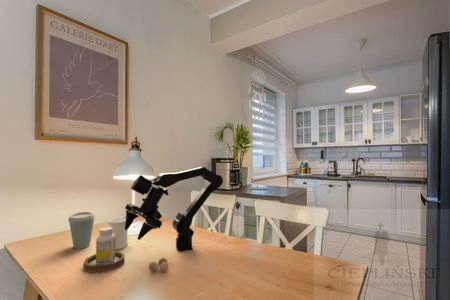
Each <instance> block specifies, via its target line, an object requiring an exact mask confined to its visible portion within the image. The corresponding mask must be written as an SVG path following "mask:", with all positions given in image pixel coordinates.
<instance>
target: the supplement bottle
mask: <svg viewBox="0 0 450 300" xmlns="http://www.w3.org/2000/svg"><path fill="white" fill-rule="evenodd" d="M112 231H113V228H112V227H109V226H107V227H106V226H104V227H101V228H99V231H98V233H99V234H98V236H97V237H96V239H95V241H96V242H95V245H96V248H95V254H96V264H97V265H106V264H110V263H112V262H114V261H115V251H116V249H115V235H114V234H112Z"/></svg>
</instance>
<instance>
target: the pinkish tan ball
mask: <svg viewBox="0 0 450 300" xmlns="http://www.w3.org/2000/svg"><path fill="white" fill-rule="evenodd" d="M168 269H169V264H168V262H167V263H166V262H163V263H161V264H160V266H159V265H158V270H159V271H160V272H161V273H165V272H167V271H168Z"/></svg>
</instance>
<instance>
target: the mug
mask: <svg viewBox="0 0 450 300" xmlns="http://www.w3.org/2000/svg"><path fill="white" fill-rule="evenodd" d="M125 223H126V217H115V218H112V219H109V221H108V227H112V228H113V231H112V234H114V235H115V250H119V249H123V248H126V247H127V246H128V244H129V242H128V233H129V232H128V230H125Z"/></svg>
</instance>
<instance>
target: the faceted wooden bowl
mask: <svg viewBox="0 0 450 300" xmlns="http://www.w3.org/2000/svg"><path fill="white" fill-rule="evenodd" d="M124 263H125V254H124V253H123V252H121V251H116V250H115V261H114V262H112V263H110V264H106V265H97V264H96V253H95V254H93V255H90V256H89V257H86V258H85V260H84V261H83V267H82V268H83V271H85V272H86V273H91V274H98V273H99V274H100V273H107V272H110V271H113V270H116V269H118V268H120V267H122V266H123V265H124Z"/></svg>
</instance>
